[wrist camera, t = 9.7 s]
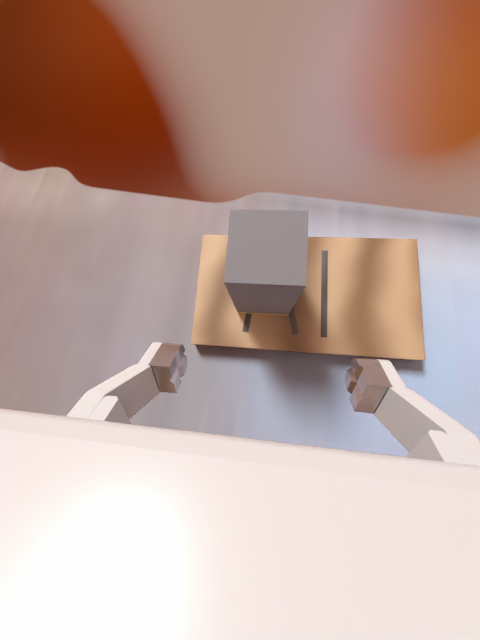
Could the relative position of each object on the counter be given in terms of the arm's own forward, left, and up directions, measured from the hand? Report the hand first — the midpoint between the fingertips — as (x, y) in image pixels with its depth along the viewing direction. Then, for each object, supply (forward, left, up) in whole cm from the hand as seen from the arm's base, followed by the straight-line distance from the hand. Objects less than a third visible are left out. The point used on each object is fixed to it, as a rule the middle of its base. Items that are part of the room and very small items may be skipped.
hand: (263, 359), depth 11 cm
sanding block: (0, -7, -11) cm, 13 cm away
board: (-4, -7, -12) cm, 15 cm away
